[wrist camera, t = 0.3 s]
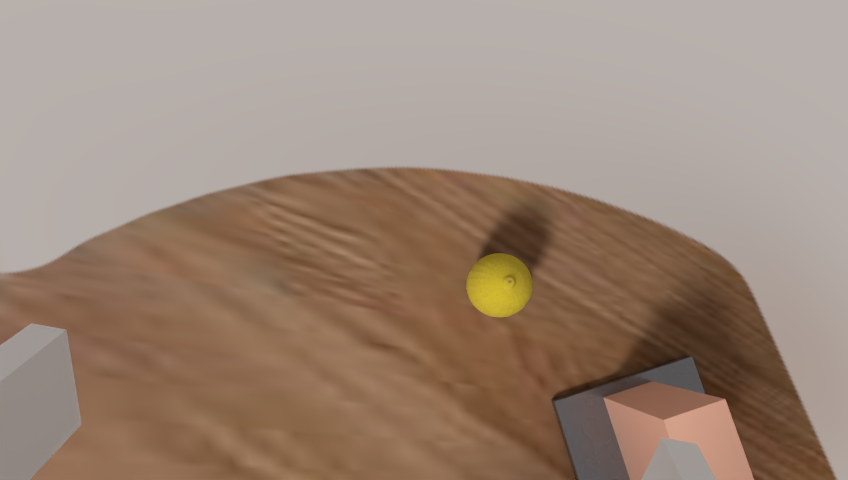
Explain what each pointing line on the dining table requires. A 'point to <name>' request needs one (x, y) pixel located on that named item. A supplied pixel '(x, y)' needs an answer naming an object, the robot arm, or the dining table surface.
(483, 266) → the lemon
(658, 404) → the terracotta block
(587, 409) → the pocket plate
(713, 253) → the dining table surface
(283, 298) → the dining table surface
